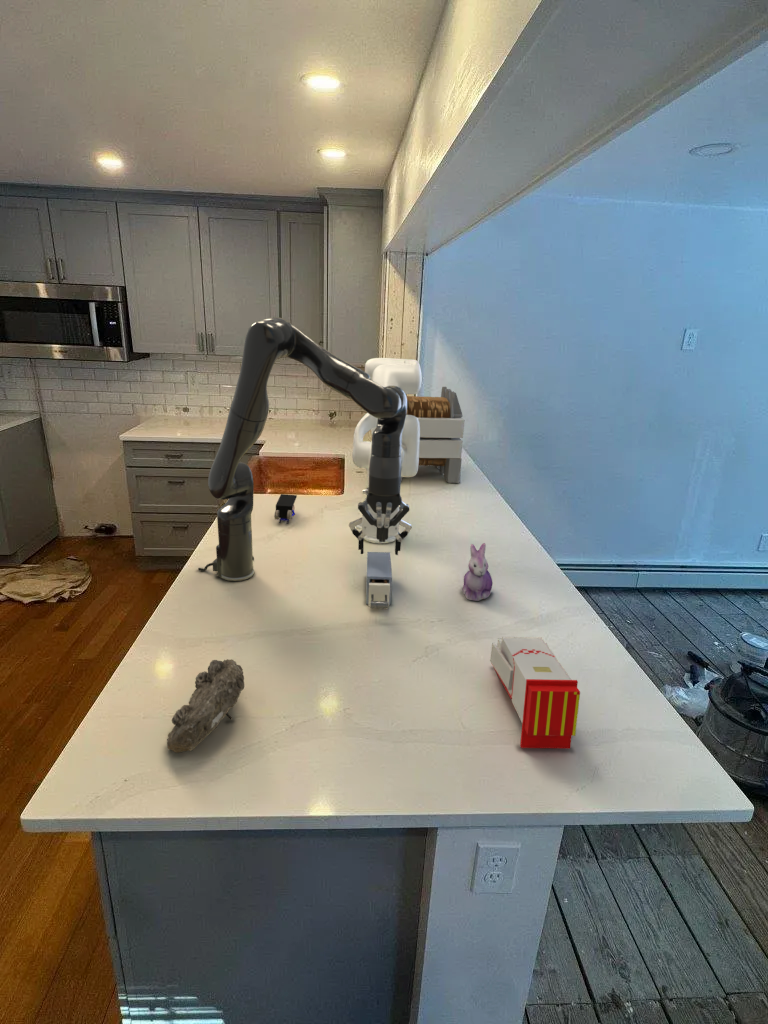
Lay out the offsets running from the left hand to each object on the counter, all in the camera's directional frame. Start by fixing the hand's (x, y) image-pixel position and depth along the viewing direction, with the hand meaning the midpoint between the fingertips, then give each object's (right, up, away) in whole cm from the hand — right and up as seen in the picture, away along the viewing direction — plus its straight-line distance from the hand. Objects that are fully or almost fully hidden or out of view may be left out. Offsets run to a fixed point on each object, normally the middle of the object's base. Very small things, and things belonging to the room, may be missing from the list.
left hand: (382, 540), depth 139 cm
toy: (+30, -32, -23) cm, 49 cm away
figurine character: (-36, +4, +70) cm, 78 cm away
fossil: (-32, -32, -31) cm, 55 cm away
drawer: (-1, -16, +14) cm, 21 cm away
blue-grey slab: (-1, -15, +20) cm, 25 cm away
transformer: (+18, +26, +136) cm, 139 cm away
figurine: (+27, -16, +20) cm, 37 cm away
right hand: (-1, -4, +19) cm, 20 cm away
